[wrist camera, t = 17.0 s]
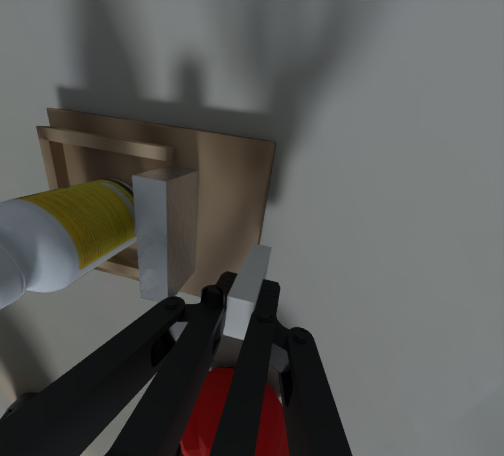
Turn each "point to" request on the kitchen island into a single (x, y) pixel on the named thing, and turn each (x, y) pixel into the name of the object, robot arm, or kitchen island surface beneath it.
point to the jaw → (165, 229)
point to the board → (163, 155)
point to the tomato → (209, 413)
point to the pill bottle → (62, 235)
